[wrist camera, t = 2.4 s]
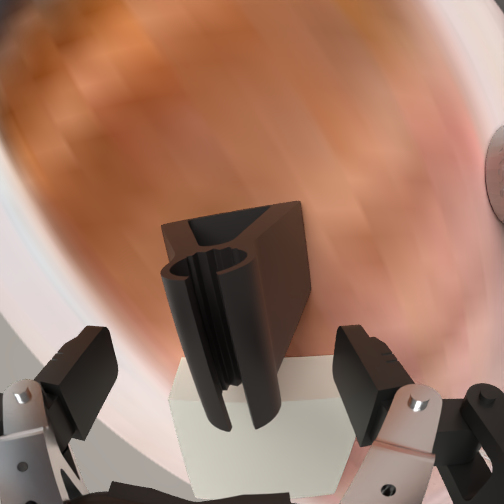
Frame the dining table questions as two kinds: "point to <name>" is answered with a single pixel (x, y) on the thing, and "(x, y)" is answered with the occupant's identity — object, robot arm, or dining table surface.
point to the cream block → (266, 436)
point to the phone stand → (237, 301)
